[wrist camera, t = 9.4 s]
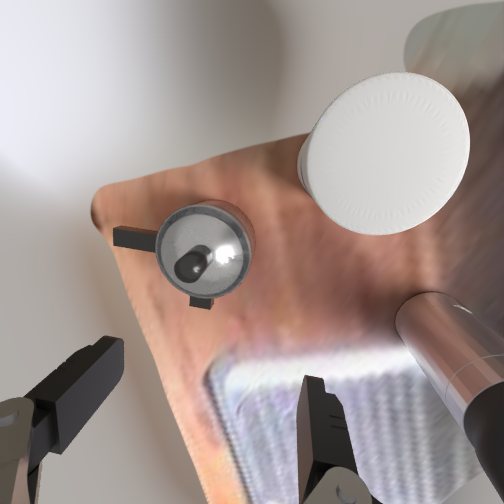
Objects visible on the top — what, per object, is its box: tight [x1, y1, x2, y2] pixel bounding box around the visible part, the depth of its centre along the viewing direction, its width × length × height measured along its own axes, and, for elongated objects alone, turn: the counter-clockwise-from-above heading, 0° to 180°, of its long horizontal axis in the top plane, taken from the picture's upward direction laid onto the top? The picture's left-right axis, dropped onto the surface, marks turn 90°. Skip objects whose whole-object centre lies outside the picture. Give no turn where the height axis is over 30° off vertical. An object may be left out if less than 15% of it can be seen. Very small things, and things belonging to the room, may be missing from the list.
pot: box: [113, 200, 256, 310], centre depth 39 cm, size 19×14×7 cm
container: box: [297, 72, 470, 235], centre depth 27 cm, size 10×10×20 cm
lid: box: [161, 213, 244, 295], centre depth 33 cm, size 10×10×6 cm
